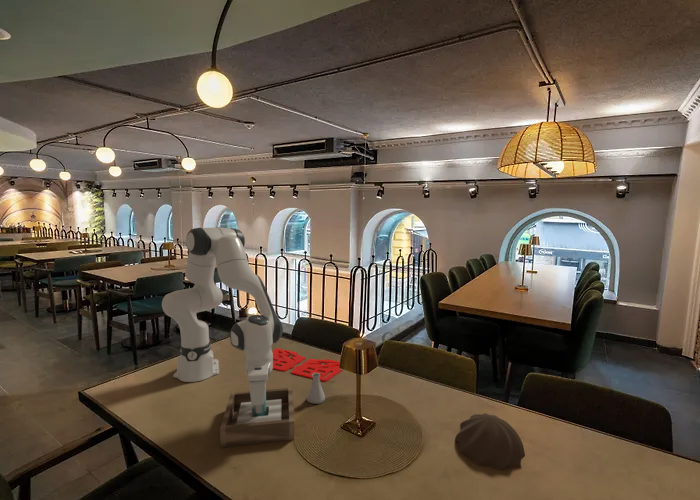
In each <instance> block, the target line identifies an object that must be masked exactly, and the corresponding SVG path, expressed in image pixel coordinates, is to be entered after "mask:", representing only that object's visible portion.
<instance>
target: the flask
mask: <svg viewBox="0 0 700 500" xmlns="http://www.w3.org/2000/svg"><path fill="white" fill-rule="evenodd" d="M320 376H321V375H320V373H313V374H312V377H313V379H312V381H311V386H310V389H309V392H308V395H307V396H306V397H307V398H306V402H307V403H310V404H313V405H314V404H322V403H324V402H325V401H326V395H325V393H324V390H323V387H322V384H321V381H320V379H319V377H320Z"/></svg>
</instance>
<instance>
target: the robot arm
mask: <svg viewBox="0 0 700 500" xmlns="http://www.w3.org/2000/svg"><path fill="white" fill-rule="evenodd" d="M245 242H246V240H245V236H244V233H243V232H242V231H241V230H240V229H237V228H232V227H231V228H228V227H219V226H218V227H217V226H215V227H196V228H192V229H190V230H189V231H188V233H187V235H186V239H185V245H186V248H187V251H188V256H187V260H186V265H185V272H184V275H185V278H186V279H187V280H188V281H189V282H190V283H192V284H194V285H193V287H190V288H185V289H184V288H183V289H177V290H175V291H172V292H170V293H167V294H165V295H164V297H163V298H162V301H161V308H162V311H163V312H164V314H165V315H166V316H168V317H170V318H171V319H173V320H174V321H175V322H176V323H177V325H178V328H179V331H180V340H181V342H180V343H181V344H180V349H179V351H180V355H179V356H178V358H177V359H176V360H177V361H176V371H175V373H173V376H172V377H173V378H176V379H178V380H179V381H181V382H184V383H193V382H194V383H195V382H199V381H203V380H206V379H210V378H211V377H213V376H216V375H219V374H220V367H219V366H220V365H219V363H220V361H219V359H217V358H214V351H213V350H212V349H211V347H212V346H211V340H210V331H209V330H210V329H209V324H208V323H206V321H203V320H201V319H198V317H197V314H198V313H201V312H205V311H211V310H212V309H215V308H218V306H220V305H221V304H222V303H223V299H224V295H223V291H222V290H221V288H219V286H217V284H215V280H214V278H215V277H214V276H215V270H216V271H217V275H218V278H219V279H220V282H221V283H222V284H223V285H224V286H226V287H228V288H230V289H233V290H237V291H240V292H244V293H247V294H249V295H250V296H251V297H253V298H254V301H255V303H256V305H257V309H258V311H259V313H260V314H253V315H251V316H249V317H247V318H246V320H242V321H241V320H240V321H239V322H236V323H234V324H233V325H232V327H231V328H230V332H229V340H230V344H231V346H232V347H234V348H235V349H237V350H239V351H242V352H243V351H244V352H245V372H246V381H247V382H248V383H249V391H250V396H251V403H252V405H253V406H256V413H261V412H262V405H263V404H264V399H265V390H267V383H268V382H267V381H268V380H269V377H270V374H271V372H272V371H273V370H274V369H273V361H274V360H273V353H272V351H273V350H272V346H273V344H276V343H277V342H278V341H280V339H281V337H282V335H283V334H284V333H283V332H284V328H283V327H284V326H283V324H282V321H281V320H280V318H279V316H278V315H277V313H276V311H275V308H274V305H273V303H272V301H271V298H270V296H269V292H268V290H267V289H266V287H265V284H264V282H263V280H262V278H261V277H260V275H257V274H256V273H255V272H254V271H253V270H252V268H251V266H250V264H249V262H248V261H249V260H248V257H247V253H246V251H245V244H246V243H245Z"/></svg>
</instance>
